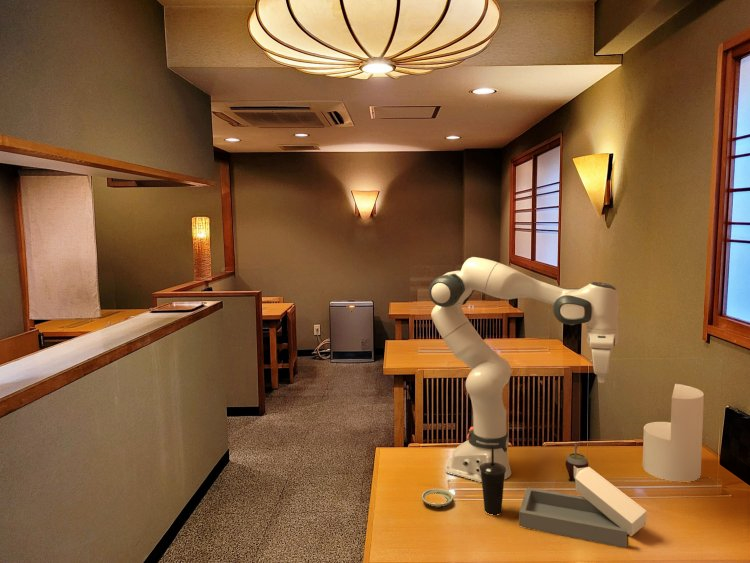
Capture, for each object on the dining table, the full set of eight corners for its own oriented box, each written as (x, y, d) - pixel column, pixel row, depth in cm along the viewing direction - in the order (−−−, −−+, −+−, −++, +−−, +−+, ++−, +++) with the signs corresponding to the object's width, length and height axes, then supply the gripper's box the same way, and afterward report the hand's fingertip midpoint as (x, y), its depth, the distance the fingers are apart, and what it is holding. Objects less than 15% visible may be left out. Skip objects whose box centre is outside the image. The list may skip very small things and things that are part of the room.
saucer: (456, 498, 168) (456, 491, 167) (447, 514, 159) (447, 506, 159) (427, 493, 172) (427, 485, 171) (417, 508, 163) (417, 500, 163)
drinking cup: (507, 506, 162) (507, 443, 159) (504, 520, 154) (504, 454, 152) (481, 503, 164) (481, 440, 162) (478, 516, 157) (477, 451, 155)
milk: (632, 523, 141) (566, 471, 158) (631, 537, 144) (566, 483, 161) (647, 510, 143) (580, 459, 160) (646, 523, 146) (580, 472, 163)
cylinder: (701, 465, 184) (704, 387, 181) (700, 487, 170) (703, 402, 166) (645, 455, 193) (647, 380, 190) (639, 475, 179) (641, 394, 176)
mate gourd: (578, 472, 182) (578, 430, 180) (594, 483, 174) (595, 439, 173) (560, 476, 179) (560, 433, 178) (575, 487, 172) (576, 442, 170)
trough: (519, 526, 151) (519, 511, 150) (526, 501, 164) (526, 487, 164) (626, 548, 140) (626, 531, 139) (625, 518, 153) (625, 503, 153)
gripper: (591, 329, 170) (591, 371, 171) (589, 343, 151) (588, 390, 153) (613, 330, 167) (612, 373, 169) (613, 344, 149) (612, 392, 150)
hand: (601, 381), depth 161 cm, fingers closed
